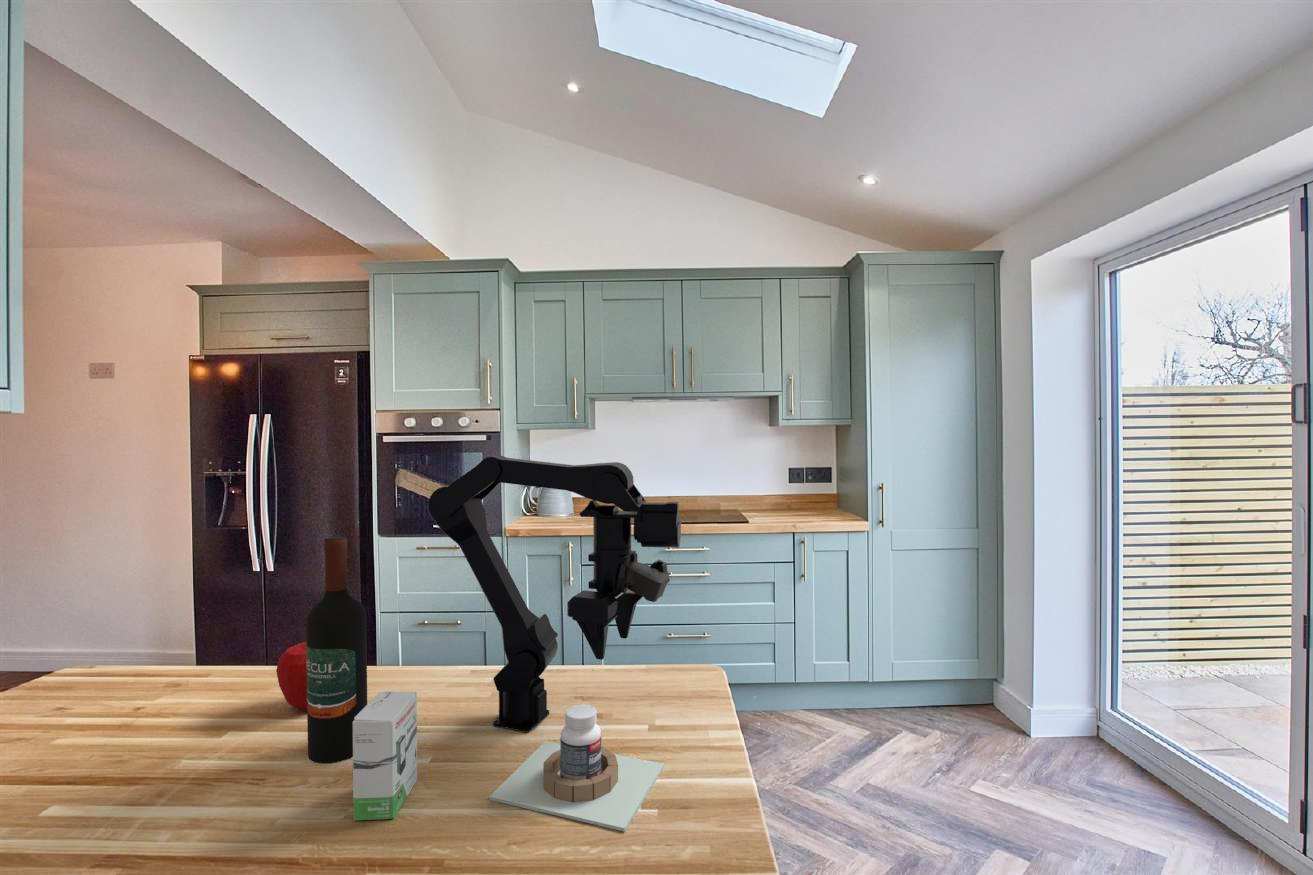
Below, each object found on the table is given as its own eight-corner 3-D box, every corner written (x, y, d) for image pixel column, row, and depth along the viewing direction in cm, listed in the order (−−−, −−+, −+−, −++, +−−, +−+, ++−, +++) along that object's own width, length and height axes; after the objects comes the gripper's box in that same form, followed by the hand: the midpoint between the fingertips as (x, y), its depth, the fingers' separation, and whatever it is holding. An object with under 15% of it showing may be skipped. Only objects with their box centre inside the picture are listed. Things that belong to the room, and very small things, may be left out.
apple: (342, 713, 99) (341, 645, 99) (272, 724, 95) (271, 654, 95) (346, 688, 108) (345, 626, 108) (283, 697, 104) (281, 633, 104)
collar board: (489, 799, 77) (489, 780, 77) (545, 743, 90) (545, 727, 90) (624, 831, 71) (625, 810, 71) (664, 766, 84) (664, 749, 84)
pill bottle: (594, 793, 77) (594, 722, 77) (554, 788, 78) (554, 718, 78) (606, 770, 82) (606, 703, 82) (568, 765, 83) (568, 700, 83)
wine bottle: (379, 742, 90) (377, 536, 89) (333, 768, 83) (330, 545, 82) (343, 731, 93) (340, 532, 92) (295, 755, 86) (292, 541, 86)
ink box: (394, 821, 73) (393, 721, 72) (350, 822, 72) (349, 721, 72) (419, 778, 81) (418, 688, 81) (380, 779, 81) (379, 689, 81)
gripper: (640, 563, 83) (640, 679, 83) (681, 538, 100) (681, 634, 101) (565, 557, 86) (565, 668, 87) (617, 534, 104) (617, 626, 105)
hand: (612, 648), depth 95 cm, fingers open, 9 cm apart
